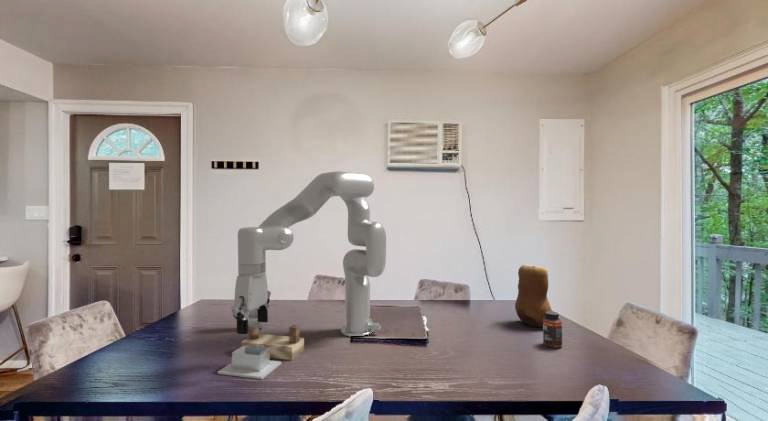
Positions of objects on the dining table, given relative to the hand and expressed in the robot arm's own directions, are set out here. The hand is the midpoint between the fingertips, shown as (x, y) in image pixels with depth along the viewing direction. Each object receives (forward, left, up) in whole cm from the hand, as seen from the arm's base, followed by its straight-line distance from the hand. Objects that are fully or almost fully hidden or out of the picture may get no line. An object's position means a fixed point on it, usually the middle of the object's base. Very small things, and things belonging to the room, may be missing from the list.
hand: (253, 327), depth 98 cm
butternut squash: (-89, -61, -12) cm, 109 cm away
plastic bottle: (+19, -30, -12) cm, 38 cm away
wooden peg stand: (0, -11, -12) cm, 16 cm away
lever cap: (0, 0, -11) cm, 11 cm away
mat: (0, +1, -12) cm, 12 cm away
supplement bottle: (-91, -39, -12) cm, 100 cm away
